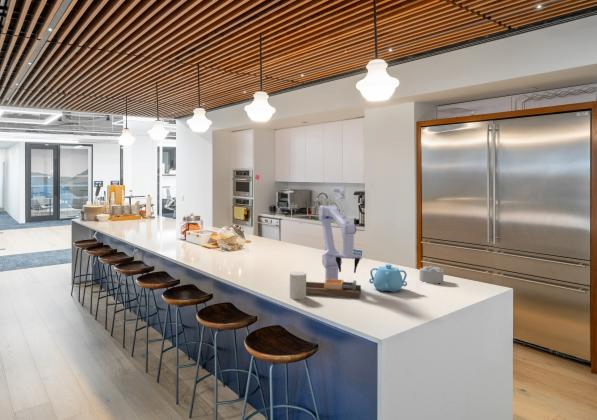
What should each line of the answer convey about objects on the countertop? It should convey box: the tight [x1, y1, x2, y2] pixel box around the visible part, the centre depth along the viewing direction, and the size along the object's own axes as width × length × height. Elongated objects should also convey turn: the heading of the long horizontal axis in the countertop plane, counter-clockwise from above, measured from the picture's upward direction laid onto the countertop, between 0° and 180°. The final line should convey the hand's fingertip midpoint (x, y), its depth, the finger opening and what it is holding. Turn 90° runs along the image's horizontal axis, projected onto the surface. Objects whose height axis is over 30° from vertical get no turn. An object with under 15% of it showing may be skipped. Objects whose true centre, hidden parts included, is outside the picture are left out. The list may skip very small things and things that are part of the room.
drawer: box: [323, 278, 357, 291], centre depth 218 cm, size 9×16×5 cm, turn 78°
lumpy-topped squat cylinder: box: [419, 265, 445, 284], centre depth 245 cm, size 10×13×9 cm
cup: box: [289, 271, 307, 300], centre depth 210 cm, size 8×8×12 cm
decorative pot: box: [368, 263, 408, 293], centre depth 227 cm, size 16×16×14 cm
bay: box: [306, 281, 362, 299], centre depth 219 cm, size 13×34×7 cm, turn 78°
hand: (347, 272), depth 221 cm, fingers open, 7 cm apart
